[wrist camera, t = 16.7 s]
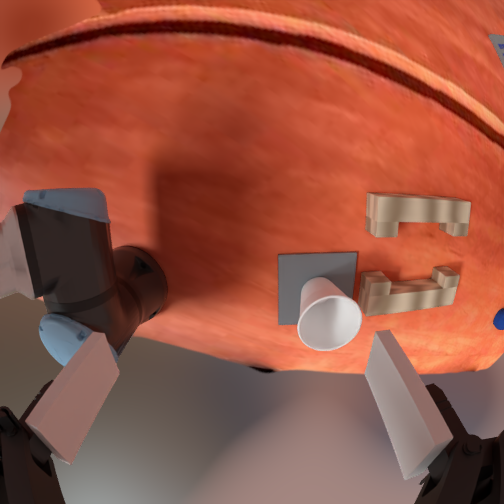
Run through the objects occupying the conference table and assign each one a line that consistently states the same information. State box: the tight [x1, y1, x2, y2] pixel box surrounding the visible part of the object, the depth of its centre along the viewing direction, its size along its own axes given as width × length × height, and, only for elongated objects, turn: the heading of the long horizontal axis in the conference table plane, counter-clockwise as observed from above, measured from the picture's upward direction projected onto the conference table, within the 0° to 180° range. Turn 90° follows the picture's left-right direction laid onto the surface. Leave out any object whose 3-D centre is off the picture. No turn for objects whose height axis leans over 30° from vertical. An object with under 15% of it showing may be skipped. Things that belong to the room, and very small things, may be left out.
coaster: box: [278, 252, 357, 325], centre depth 48 cm, size 14×14×1 cm
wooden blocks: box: [358, 193, 471, 316], centre depth 43 cm, size 21×21×5 cm
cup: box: [297, 277, 362, 351], centre depth 43 cm, size 10×10×11 cm
